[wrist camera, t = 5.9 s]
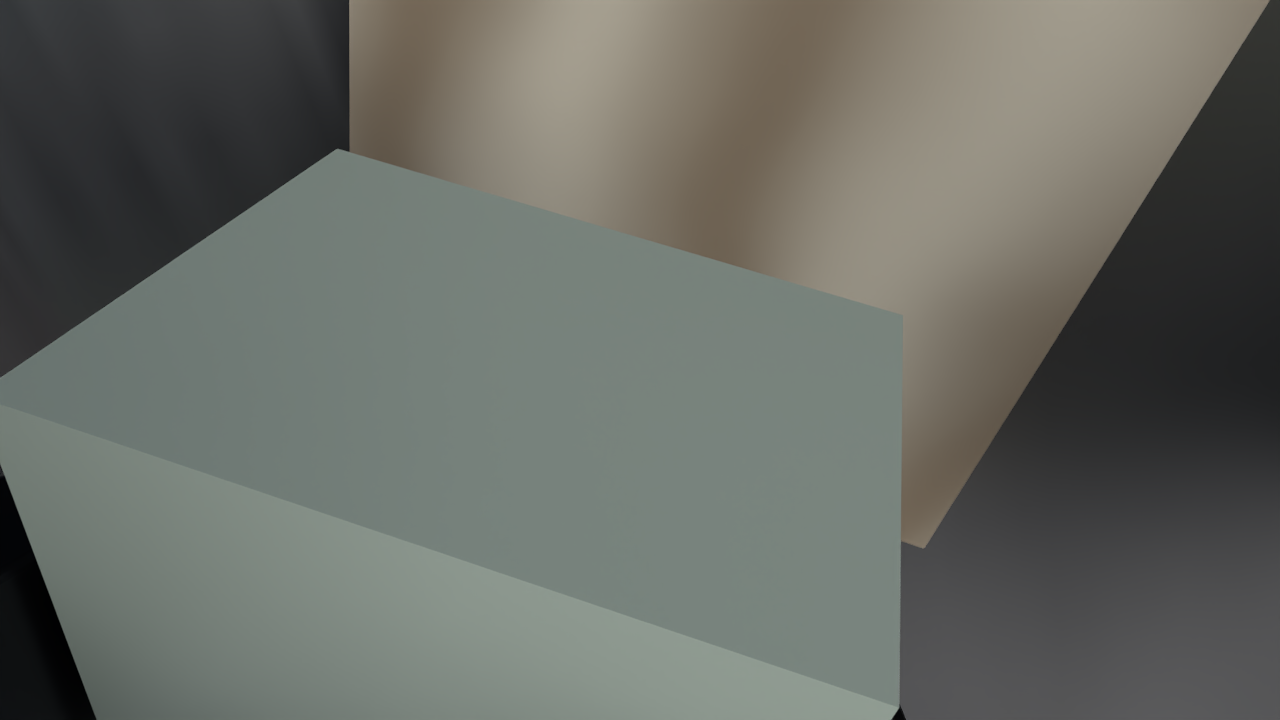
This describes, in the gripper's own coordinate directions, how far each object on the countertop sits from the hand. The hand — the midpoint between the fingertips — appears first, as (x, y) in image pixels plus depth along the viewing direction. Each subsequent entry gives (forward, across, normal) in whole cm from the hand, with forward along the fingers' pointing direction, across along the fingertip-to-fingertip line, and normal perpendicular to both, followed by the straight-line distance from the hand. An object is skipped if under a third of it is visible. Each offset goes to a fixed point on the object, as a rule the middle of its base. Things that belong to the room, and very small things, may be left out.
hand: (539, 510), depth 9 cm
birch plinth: (+11, 0, 0) cm, 11 cm away
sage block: (+1, 0, 0) cm, 1 cm away
